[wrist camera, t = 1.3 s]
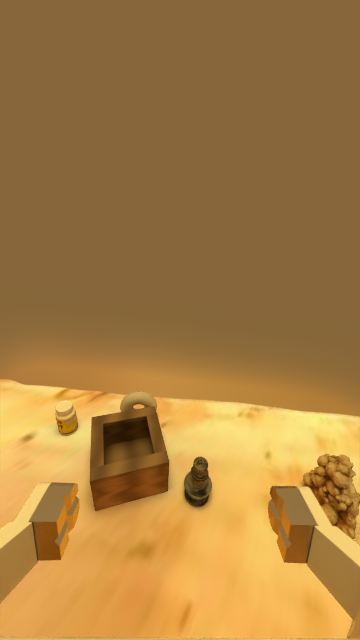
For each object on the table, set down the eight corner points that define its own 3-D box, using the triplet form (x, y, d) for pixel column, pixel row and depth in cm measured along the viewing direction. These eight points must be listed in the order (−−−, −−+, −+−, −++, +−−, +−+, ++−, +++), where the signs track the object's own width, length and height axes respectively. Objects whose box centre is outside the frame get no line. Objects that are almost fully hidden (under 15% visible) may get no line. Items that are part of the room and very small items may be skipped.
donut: (156, 414, 73) (157, 388, 68) (156, 423, 70) (157, 397, 65) (121, 415, 72) (120, 389, 67) (120, 425, 69) (118, 398, 64)
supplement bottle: (56, 427, 67) (51, 404, 63) (74, 418, 70) (69, 395, 66) (63, 439, 64) (57, 416, 60) (81, 429, 67) (77, 406, 63)
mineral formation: (330, 481, 58) (354, 438, 51) (360, 555, 46) (396, 511, 39) (295, 475, 59) (314, 432, 52) (315, 546, 47) (342, 502, 40)
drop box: (95, 510, 50) (89, 481, 46) (95, 445, 63) (91, 417, 58) (167, 491, 54) (169, 461, 50) (154, 433, 67) (154, 406, 62)
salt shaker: (194, 474, 58) (198, 439, 52) (215, 492, 54) (222, 457, 49) (177, 494, 54) (180, 458, 48) (199, 515, 50) (205, 479, 45)
